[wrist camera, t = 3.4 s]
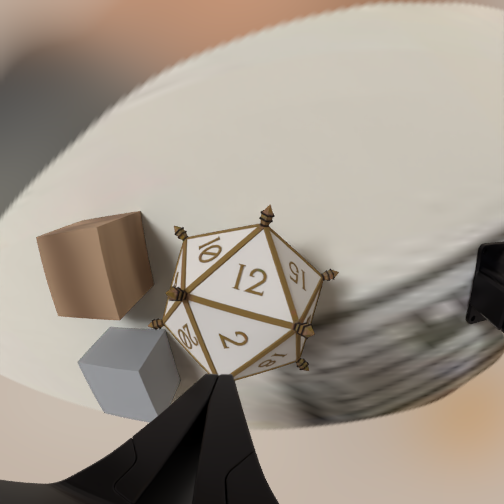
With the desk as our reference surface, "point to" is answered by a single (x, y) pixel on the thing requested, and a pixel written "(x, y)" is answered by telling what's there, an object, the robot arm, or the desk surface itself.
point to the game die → (242, 300)
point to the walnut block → (97, 266)
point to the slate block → (131, 372)
